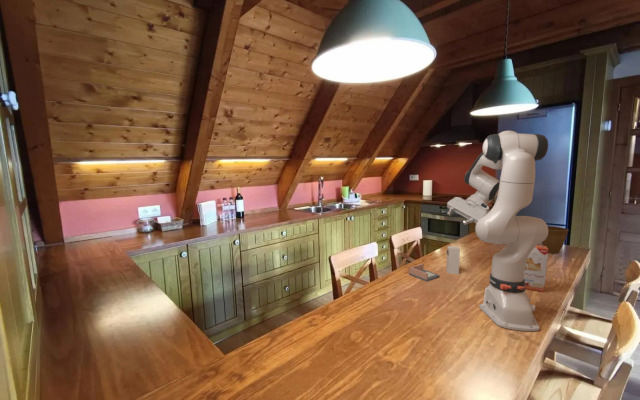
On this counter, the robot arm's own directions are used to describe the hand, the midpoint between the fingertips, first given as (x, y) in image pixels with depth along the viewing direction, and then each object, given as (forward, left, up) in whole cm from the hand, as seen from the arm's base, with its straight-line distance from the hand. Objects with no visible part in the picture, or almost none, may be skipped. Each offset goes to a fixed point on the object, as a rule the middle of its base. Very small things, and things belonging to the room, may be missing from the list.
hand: (456, 218), depth 155 cm
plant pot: (+55, -71, -31) cm, 95 cm away
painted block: (+4, 0, -30) cm, 31 cm away
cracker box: (-10, -30, -31) cm, 44 cm away
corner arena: (-4, +15, -30) cm, 34 cm away
